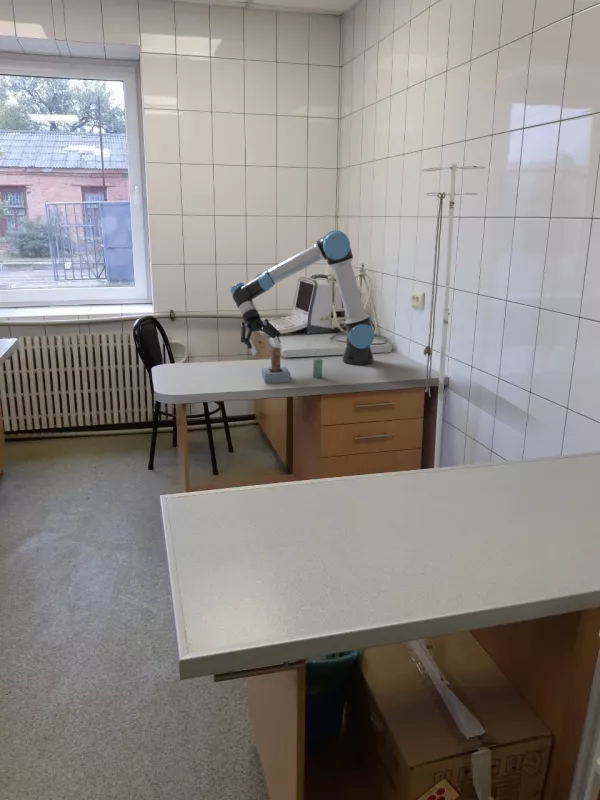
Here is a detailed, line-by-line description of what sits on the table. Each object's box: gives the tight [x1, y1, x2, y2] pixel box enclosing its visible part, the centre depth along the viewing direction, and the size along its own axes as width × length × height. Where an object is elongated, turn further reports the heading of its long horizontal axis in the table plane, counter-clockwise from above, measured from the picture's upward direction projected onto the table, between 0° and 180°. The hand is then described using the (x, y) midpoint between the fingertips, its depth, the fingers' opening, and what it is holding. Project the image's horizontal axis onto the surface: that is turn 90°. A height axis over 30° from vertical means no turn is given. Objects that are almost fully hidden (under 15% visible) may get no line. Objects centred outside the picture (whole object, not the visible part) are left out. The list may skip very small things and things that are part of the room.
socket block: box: [261, 366, 291, 384], centre depth 274 cm, size 11×11×4 cm
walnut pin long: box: [270, 346, 281, 372], centre depth 272 cm, size 4×4×14 cm
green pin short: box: [312, 358, 323, 379], centre depth 277 cm, size 4×4×8 cm
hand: (268, 351), depth 275 cm, fingers open, 13 cm apart
